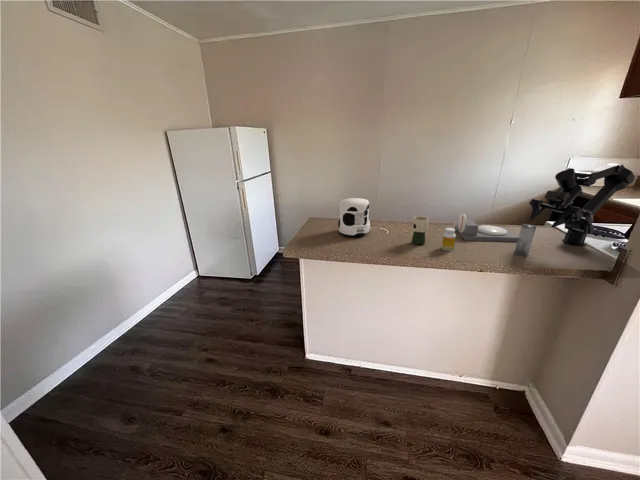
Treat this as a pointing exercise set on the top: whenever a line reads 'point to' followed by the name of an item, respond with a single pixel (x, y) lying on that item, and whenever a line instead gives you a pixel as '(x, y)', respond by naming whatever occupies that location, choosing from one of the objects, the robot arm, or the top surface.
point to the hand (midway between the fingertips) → (540, 223)
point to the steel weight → (525, 239)
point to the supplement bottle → (448, 239)
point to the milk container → (354, 217)
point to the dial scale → (482, 231)
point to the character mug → (419, 229)
